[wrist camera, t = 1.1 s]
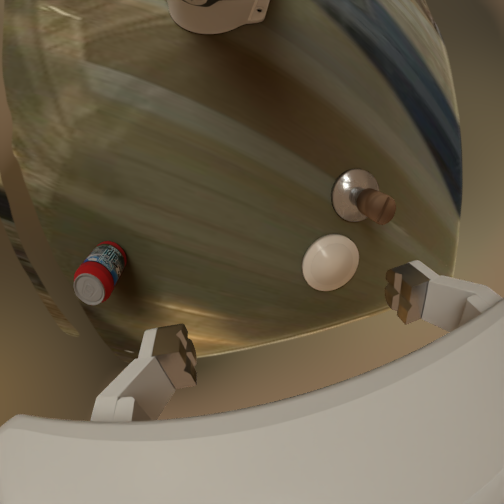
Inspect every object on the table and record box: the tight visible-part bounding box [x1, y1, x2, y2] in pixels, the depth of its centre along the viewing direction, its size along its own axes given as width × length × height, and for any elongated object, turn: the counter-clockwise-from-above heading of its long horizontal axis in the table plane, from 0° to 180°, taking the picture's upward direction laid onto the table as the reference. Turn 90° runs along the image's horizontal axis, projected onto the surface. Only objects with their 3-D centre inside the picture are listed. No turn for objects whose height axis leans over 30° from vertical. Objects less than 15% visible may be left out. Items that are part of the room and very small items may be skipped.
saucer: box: [302, 234, 359, 291], centre depth 53 cm, size 12×12×1 cm
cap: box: [357, 188, 396, 225], centre depth 41 cm, size 5×5×6 cm
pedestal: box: [331, 169, 379, 222], centre depth 46 cm, size 10×10×5 cm
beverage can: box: [74, 241, 126, 305], centre depth 41 cm, size 7×7×12 cm
